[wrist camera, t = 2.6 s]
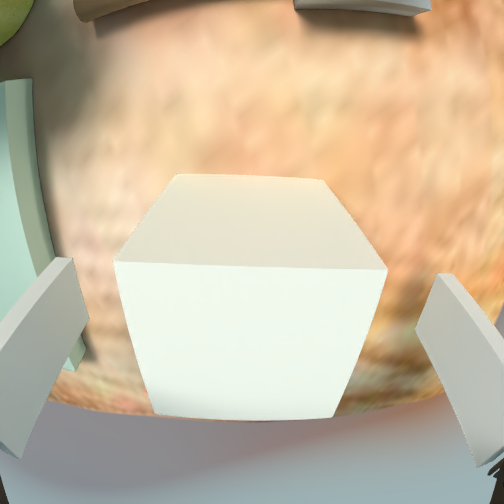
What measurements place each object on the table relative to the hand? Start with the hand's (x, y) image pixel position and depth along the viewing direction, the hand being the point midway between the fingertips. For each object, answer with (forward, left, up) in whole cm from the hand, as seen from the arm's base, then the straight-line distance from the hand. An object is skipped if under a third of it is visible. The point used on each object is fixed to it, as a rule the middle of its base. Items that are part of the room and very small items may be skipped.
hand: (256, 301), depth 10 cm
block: (0, 0, -4) cm, 4 cm away
